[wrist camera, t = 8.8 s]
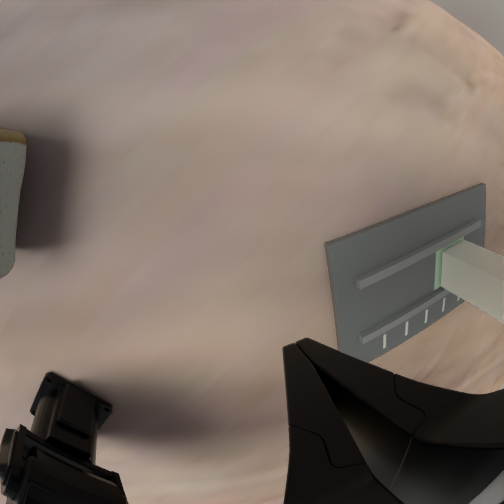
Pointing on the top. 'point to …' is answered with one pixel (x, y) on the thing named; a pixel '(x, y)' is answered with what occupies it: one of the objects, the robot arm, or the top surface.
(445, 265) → the fader knob
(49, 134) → the top surface
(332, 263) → the fader console
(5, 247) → the ceramic mug
